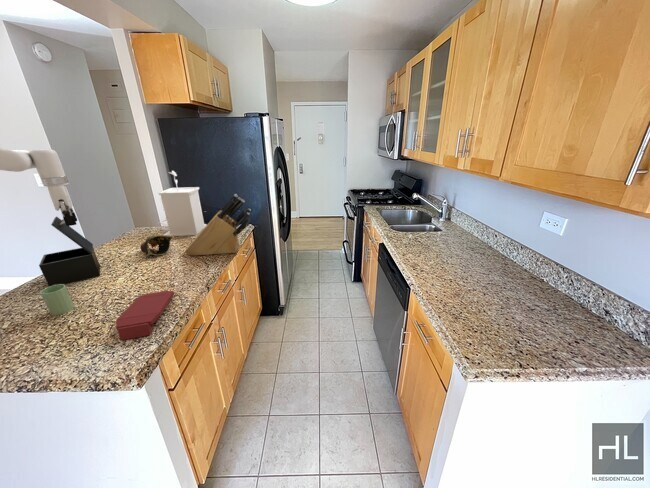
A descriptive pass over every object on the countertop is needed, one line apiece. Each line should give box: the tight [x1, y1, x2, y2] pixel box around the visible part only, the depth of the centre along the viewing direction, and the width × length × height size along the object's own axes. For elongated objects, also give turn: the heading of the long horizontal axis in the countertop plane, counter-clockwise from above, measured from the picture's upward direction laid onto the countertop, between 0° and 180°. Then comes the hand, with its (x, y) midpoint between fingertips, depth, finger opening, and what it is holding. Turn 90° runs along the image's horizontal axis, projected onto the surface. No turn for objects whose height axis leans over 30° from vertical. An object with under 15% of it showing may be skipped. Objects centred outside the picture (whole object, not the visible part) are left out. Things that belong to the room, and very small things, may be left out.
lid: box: [50, 216, 94, 254], centre depth 115 cm, size 17×14×5 cm
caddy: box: [38, 247, 101, 287], centre depth 117 cm, size 17×14×11 cm
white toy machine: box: [158, 170, 207, 237], centre depth 172 cm, size 24×28×40 cm
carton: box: [115, 290, 175, 341], centre depth 92 cm, size 12×5×25 cm
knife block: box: [184, 193, 252, 256], centre depth 139 cm, size 11×35×31 cm, turn 99°
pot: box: [139, 234, 175, 256], centre depth 142 cm, size 17×11×18 cm
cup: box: [39, 284, 75, 316], centre depth 94 cm, size 6×6×9 cm
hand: (72, 223), depth 113 cm, fingers closed on lid, 6 cm apart
